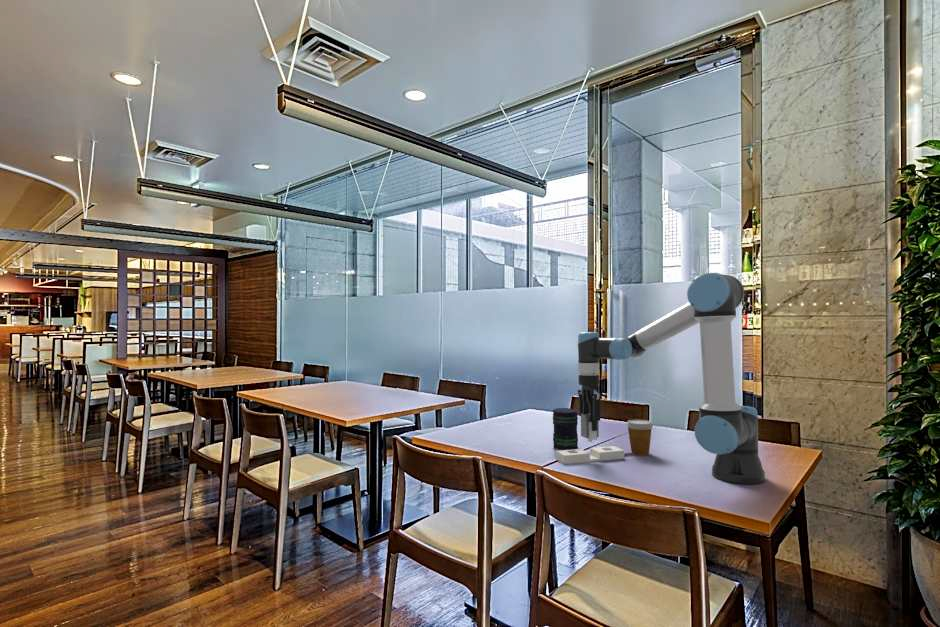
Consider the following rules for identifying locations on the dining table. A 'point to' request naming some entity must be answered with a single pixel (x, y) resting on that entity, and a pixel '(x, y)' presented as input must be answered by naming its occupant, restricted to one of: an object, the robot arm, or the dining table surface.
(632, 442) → the disposable coffee cup
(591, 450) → the power strip
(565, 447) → the storage jar
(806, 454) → the dining table surface
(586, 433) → the charger
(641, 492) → the dining table surface
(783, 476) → the dining table surface
